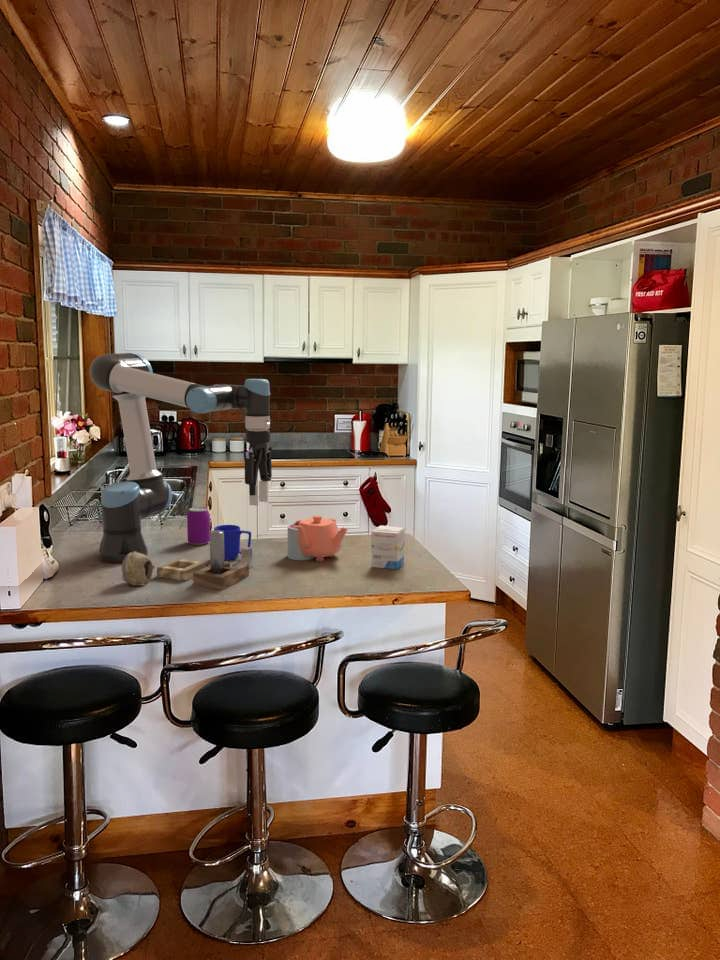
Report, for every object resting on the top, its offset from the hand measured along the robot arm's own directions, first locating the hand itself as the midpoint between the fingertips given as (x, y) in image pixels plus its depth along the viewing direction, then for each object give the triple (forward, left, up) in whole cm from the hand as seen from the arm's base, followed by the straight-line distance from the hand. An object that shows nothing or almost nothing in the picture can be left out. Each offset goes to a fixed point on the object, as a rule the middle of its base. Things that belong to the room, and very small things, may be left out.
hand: (258, 503), depth 240 cm
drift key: (0, -11, -19) cm, 21 cm away
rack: (-14, -22, -19) cm, 32 cm away
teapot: (+15, +11, -19) cm, 27 cm away
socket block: (0, -22, -19) cm, 29 cm away
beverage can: (-30, +11, -19) cm, 37 cm away
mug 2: (+12, +10, -19) cm, 24 cm away
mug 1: (-9, -1, -19) cm, 21 cm away
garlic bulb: (-20, -34, -19) cm, 44 cm away
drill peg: (0, -24, -19) cm, 30 cm away
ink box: (+39, +13, -19) cm, 45 cm away
